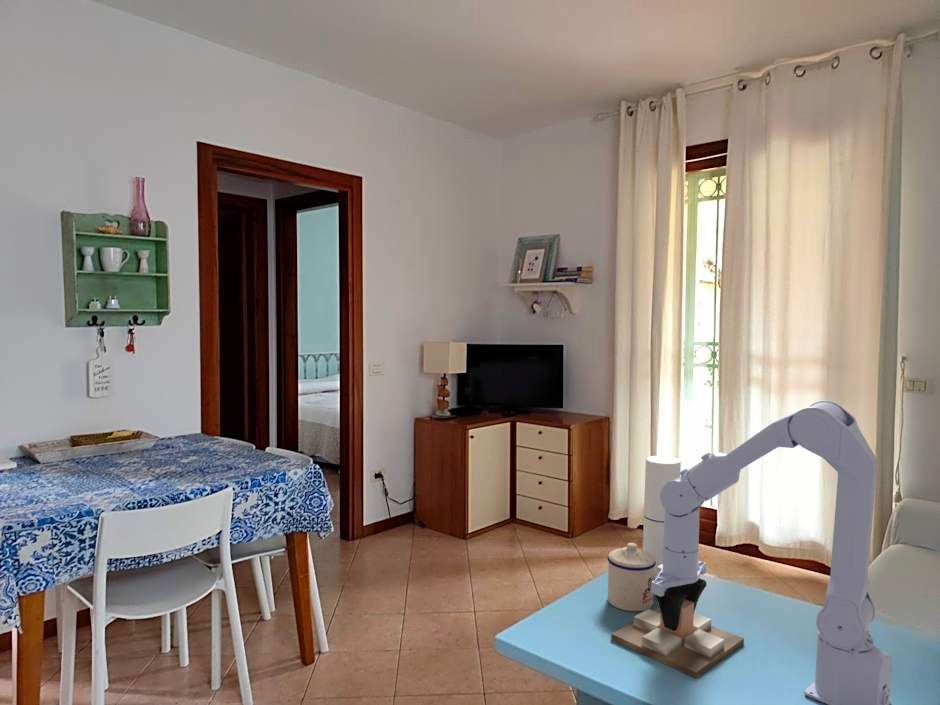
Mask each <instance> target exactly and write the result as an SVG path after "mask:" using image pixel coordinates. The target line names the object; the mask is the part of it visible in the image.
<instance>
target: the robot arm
mask: <svg viewBox="0 0 940 705" xmlns="http://www.w3.org/2000/svg"><path fill="white" fill-rule="evenodd" d="M797 446H800V447H801V448H802V449H805V450H807V451H809V452H810V453H813V454H815V455H816V456H819V457H820V458H821V459H823V460H824V461H825V462H827V464H828V465H830V467H832V468H833V469H834V470H835V471H836V472H837V484H836V495H835V496H836V497H835V507H834V508H835V510H834V521H833V523H834V524H833V537H832V550H831V563H830V576H829V580H828V585H827V589H826V592H825V600H824V604H823V606H822V608H821V609H820V610H819V611H818V613H817V615H816V621H815V622H816V627H817V639H816V640H817V641H816V643H817V644H816V659H815V674H814V675H815V676H814V677H815V678H814V679H815V680H814V681H813V682H812V683H811V684H810V685H808V686H807V688H805V690H803V694H804V695H805V696H807V697H809V698H812V699H814V700H817V701H818V702H822V703H823V704H826V705H890V704H891V702H892V699H891V684H892V683H891V682H892V672H893V671H892V670H893V660H892V656H891V655H890V654H889V653H888V652H885V651H883V650H882V649H880V648H878V647H877V646H876V645H875V644H874V639H873V638H872V635H871V634H870V631H869V627H870V625H871V623H872V622H873V621H874V618H875V615H876V606H875V604H874V602H873V599H872V596H871V593H870V588H871V583H870V581H869V570H870V569H869V567H870V555H871V543H872V541H871V540H872V532H873V531H872V529H873V520H874V518H873V517H874V506H875V493H876V492H875V491H876V482H877V481H876V479H877V467H878V462H877V457H876V455H875V453H874V452H873V449H872V448H871V446H870V445H869V443H868V441H867V439H866V438H865V436H864V434H863V433H862V431H861V429H860V428H859V425H858V422H857V420H856V417H855V416H854V415H852V414H851V413H850V412H849V411H848V410H846V409H845V408H843V406H841V405H840V404H838V403H836V402H835V401H834V402H833V401H830V400H819V401H816V402H814V403H812V404H811V405H809V406H808V407H805V408H802V409H800V410H798V411H796V412H794V413H791V414H789V415H786V416H784V417H783V418H780V419H778V420H776V421H774V422H772V423H770V424H769V425H767V426H766V427H764V428H763V429H761V430H760V431H759V432H757V433H756V434H754V435H753V436H752V437H750V438H748V439H747V440H745V442H743V443H741V444H740V445H739V446H737V447H736V448H734V449H733V450H732V451H730V452H728V453H725V452H722V451H715V452H714V453H711V452H710V451H709V452H707V453H705V454H704V455H702V456H700V459H701V461H700V462H698V463H697V464H695V465H694V466H692V467H691V468H689V469H687V468H685V469H683V470H680V477H678V478H676V479H675V480H671V481H668V482H667V484H666V485H665V486H664V487H663V488H662V490H661V492H660V501H661V504H662V506H663V507H664V509H665V519H664V544H663V564H661V565H659V566H657V570H658V571H660V573H659V574H658V576H657V578H656V579H655V580H654V581H652V582H651V593H652V594H653V597H655V600H656V601H657V604H658V608H660V610H661V614H662V619H663V623H664V627H666V628H668V629H671V630H673V631H675V630H677V627H678V623H679V616H680V611H681V607H682V604H683V602H684V600H688V601H691V602H694V612H695V611H696V607H697V604H698V601H699V598H700V597H701V595H702V593H703V592H704V590H705V589H706V586H707V581H706V579H702V578H700V576H701V575H706V574H707V562H705V561H701V560H699V544H700V541H699V540H700V537H699V536H700V510H701V508H700V507H702V505H704V502H707V501H709V500H712V498H714V497H716V496H717V495H719V494H721V493H722V492H724V491H726V490H727V489H729V488H730V487H731V486H733V485H735V484H737V483H738V482H739V480H740V475H741V470H742V469H744V468H745V467H747V466H749V465H750V464H753V463H754V462H756V461H757V460H758V459H760V458H763V457H764V456H766V455H767V454H769V453H771V452H773V451H775V449H777V448H787V449H788V448H789V449H794V448H796V447H797Z"/></svg>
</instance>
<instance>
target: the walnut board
mask: <svg viewBox="0 0 940 705" xmlns="http://www.w3.org/2000/svg"><path fill="white" fill-rule="evenodd" d="M660 614H661V610H660V607H658V608H656V609H654V610H652V609H651V608H649V609H647V610H644V611H641V612H640V613H637V614H636V615H635V616H634V617H633V621H632V622H630V623H628V624H627V625H625V626H624V627H621V628H619V629H618V630H616V631H614V632H612V633H611V638H610V639H611V640H612V641H614V642H616V643H618V644H621V645H623V646H625V647H626V648H630V649H631V650H633V651H635V652H638V653H640V654H642V655H644V656H646V657H649V658H650V659H653V660H655V661H657V662H659V663H661V664H663V665H666V666H668V667H670V668H672V669H674V670H677V671H679V672H681V673H683V674H686V675H687V676H690V677H692V678H694V679H697V678H699V677H700V676H702V675H703V674H704V673H706V672H707V671H708V670H710V669H711V668H712V667H714V666H716V665H717V664H718V663H719V662H721V661H722V660H723V659H725V658H727V656H729V655H731V654H733V653H734V652H735V651H736V650H737V649H739V648H740V647H742V646H743V645H744V644H745V638H744V637H741V636H739V635H737V634H734V633H732V632H729V631H727V630H723V629H721V628H719V627H716V626H713V625H712V619H711V618H709V617H706V616H704V615H701V614H698V613H696V612H694V619H693V633H692V634H691V635H689V636H687V637H686V638H685V642H683V643H681V638H680V637H678V636H676V635H673V634H671V633H669V632H666V631H664V630H661V629H660Z"/></svg>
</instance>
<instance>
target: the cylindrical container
mask: <svg viewBox="0 0 940 705" xmlns="http://www.w3.org/2000/svg"><path fill="white" fill-rule="evenodd" d="M681 465H682V460H681V459H680V458H677V457H674V456H668V455H667V456H666V455H651V456H647V457H646V458H645V472H644V474H645V477H644V478H645V479H644V503H643V530H642V532H643V533H642V551H645V552H647V553H649V554H651V555H652V556H653V557H654V559H655V562H656V564H655V566H654V579H656V578H657V576H658V574H659V573H660V571H658V570H657V566H659V565H661V564H663V544H664V519H665V509H664V507H663V506H662V504H661V501H660V492H661V490H662V488H663V487H664V486H665V485H666V484H667V482H668V481H671V480H675V479H676V478H678V477H680V476H681V475H680V472H681V471H682V470H681V467H682V466H681Z"/></svg>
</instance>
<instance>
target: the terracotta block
mask: <svg viewBox="0 0 940 705" xmlns="http://www.w3.org/2000/svg"><path fill="white" fill-rule="evenodd" d="M694 613H695V611H694V602H691V601H688V600H684V602H683V604H682V607H681V611H680V616H679V623H678V627H677V630H675V631H673V630H671V629H668V628H666V627H664V623H663V619H662V614H660V629H661V630H664V631H666V632H669V633H671V634H673V635H676V636H678V637H680V638H681V643H683V642H685V638H686V637H687V636H689V635H691V634H692V633H693V619H694Z"/></svg>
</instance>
